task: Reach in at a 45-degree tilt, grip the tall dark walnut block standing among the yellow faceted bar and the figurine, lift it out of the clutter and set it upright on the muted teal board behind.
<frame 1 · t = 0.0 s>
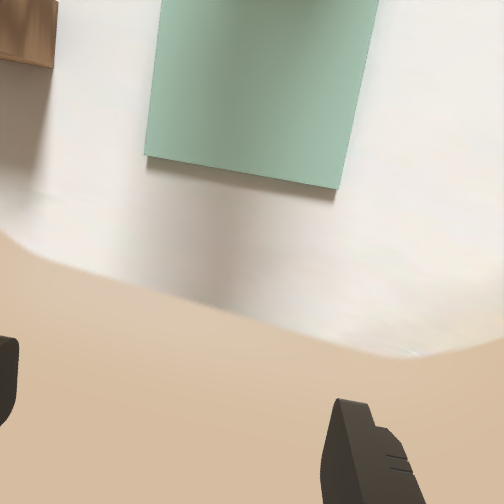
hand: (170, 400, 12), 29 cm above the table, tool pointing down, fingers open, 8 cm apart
walnut block: (25, 30, 38), on the table
teal board: (258, 70, 38), on the table
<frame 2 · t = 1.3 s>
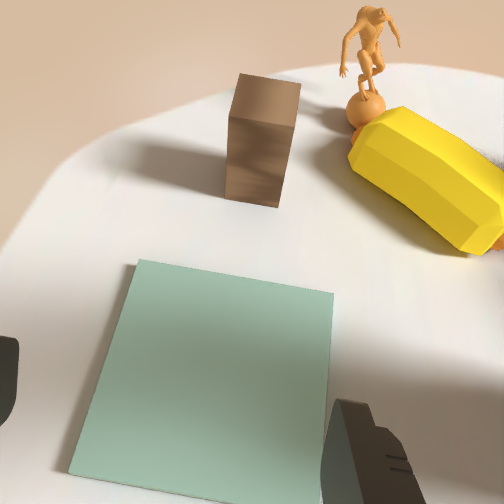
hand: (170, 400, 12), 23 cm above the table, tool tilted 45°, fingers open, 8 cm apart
yellow faceted bar: (419, 198, 46), on the table
figurine: (353, 120, 51), on the table
walnut block: (255, 182, 45), on the table
teal board: (216, 377, 35), on the table
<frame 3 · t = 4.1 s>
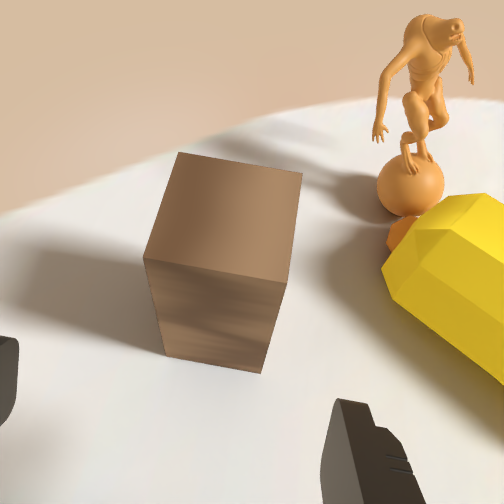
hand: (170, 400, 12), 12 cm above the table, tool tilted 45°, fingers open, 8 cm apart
figurine: (386, 196, 32), on the table
walnut block: (222, 321, 26), on the table
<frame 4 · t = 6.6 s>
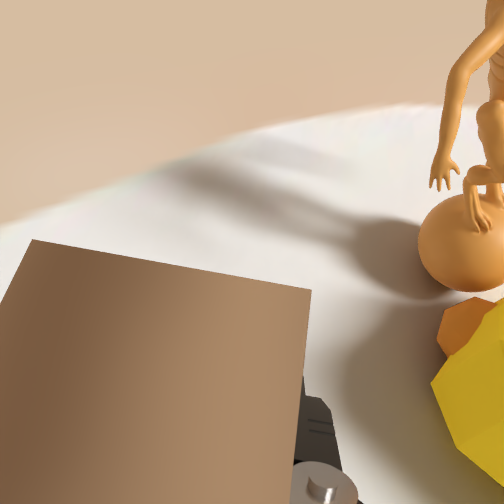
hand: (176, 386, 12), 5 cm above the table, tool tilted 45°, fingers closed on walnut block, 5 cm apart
figurine: (429, 253, 21), on the table
walnut block: (172, 482, 15), on the table, touching gripper
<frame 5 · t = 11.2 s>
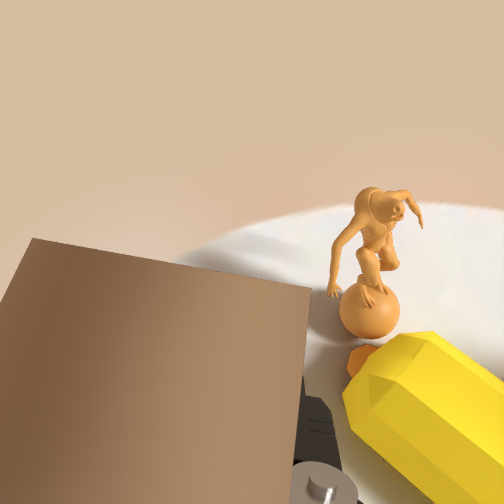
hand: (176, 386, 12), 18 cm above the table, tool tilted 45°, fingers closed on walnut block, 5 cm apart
yellow faceted bar: (455, 458, 30), on the table
figurine: (350, 312, 34), on the table
walnut block: (172, 481, 15), point 13 cm above the table, touching gripper
when the fingers open (7 cm above the table, at t = 15.6 s): walnut block drops 1 cm, resting on teal board.
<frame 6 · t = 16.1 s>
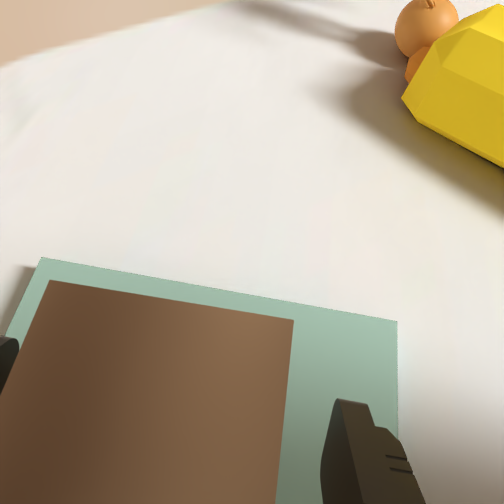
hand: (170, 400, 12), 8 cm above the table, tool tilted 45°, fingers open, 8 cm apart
figurine: (402, 49, 34), on the table
walnut block: (173, 486, 17), point 1 cm above the table, touching teal board
teal board: (175, 490, 18), on the table
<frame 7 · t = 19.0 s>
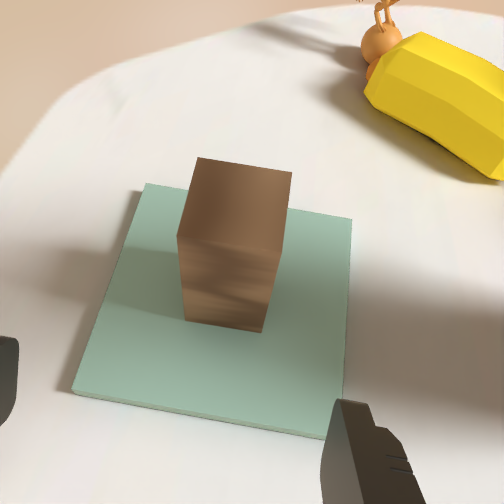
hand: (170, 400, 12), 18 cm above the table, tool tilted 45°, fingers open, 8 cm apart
yellow faceted bar: (440, 131, 44), on the table
figurine: (367, 58, 49), on the table
walnut block: (229, 292, 32), point 1 cm above the table, touching teal board
teal board: (229, 300, 33), on the table
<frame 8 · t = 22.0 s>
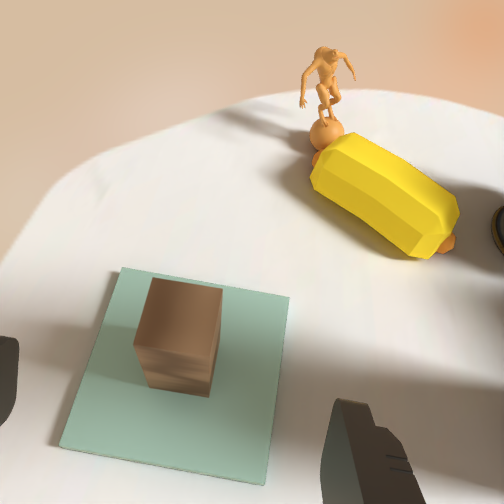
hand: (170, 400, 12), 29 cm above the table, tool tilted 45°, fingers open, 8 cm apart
yellow faceted bar: (374, 210, 53), on the table
figurine: (317, 142, 57), on the table
walnut block: (185, 363, 40), point 1 cm above the table, touching teal board
teal board: (186, 368, 41), on the table
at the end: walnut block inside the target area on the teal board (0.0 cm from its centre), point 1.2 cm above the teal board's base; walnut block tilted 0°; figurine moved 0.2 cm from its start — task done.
